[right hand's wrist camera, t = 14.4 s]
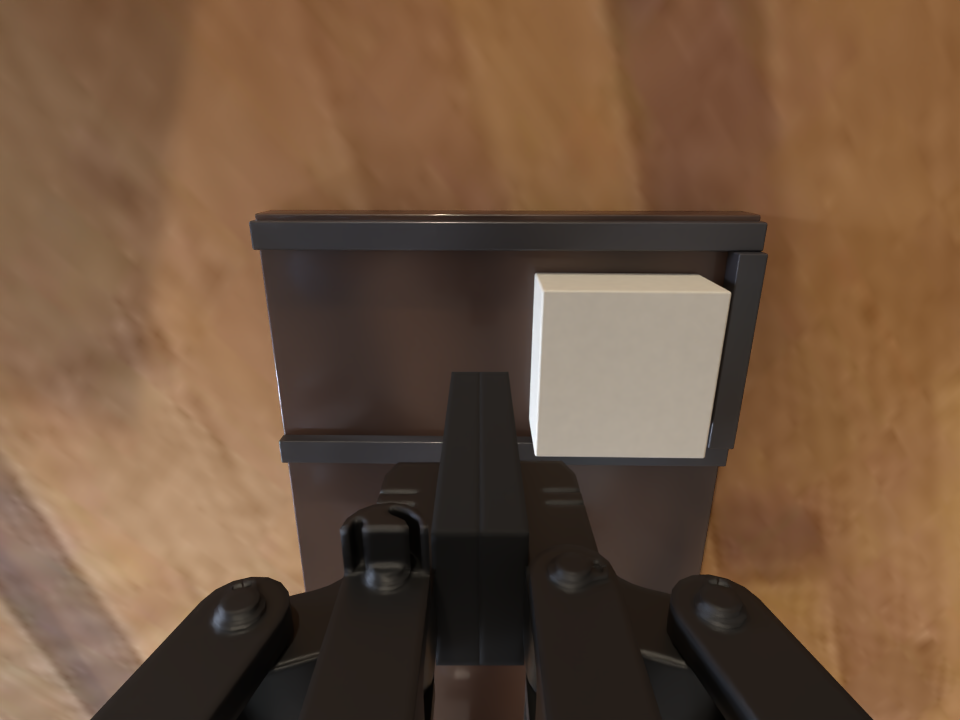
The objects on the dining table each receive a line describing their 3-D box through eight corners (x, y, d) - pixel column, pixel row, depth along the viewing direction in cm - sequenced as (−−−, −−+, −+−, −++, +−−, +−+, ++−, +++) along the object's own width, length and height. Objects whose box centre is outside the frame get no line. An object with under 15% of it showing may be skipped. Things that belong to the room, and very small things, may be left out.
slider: (528, 419, 22) (534, 457, 19) (534, 272, 20) (541, 290, 17) (677, 421, 22) (705, 459, 19) (698, 273, 20) (732, 291, 17)
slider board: (340, 780, 32) (283, 1020, 23) (269, 210, 21) (109, 246, 12) (652, 785, 32) (716, 1029, 23) (742, 211, 21) (934, 249, 12)
